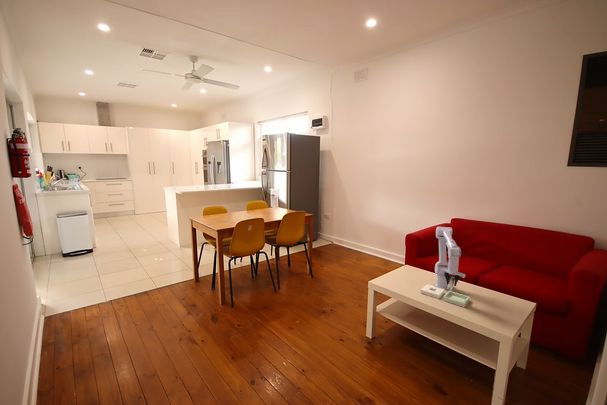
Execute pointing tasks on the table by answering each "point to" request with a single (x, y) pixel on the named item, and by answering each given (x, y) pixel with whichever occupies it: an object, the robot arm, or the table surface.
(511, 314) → the table surface
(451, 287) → the lock pin
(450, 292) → the pin tray
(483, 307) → the table surface
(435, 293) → the lock block
